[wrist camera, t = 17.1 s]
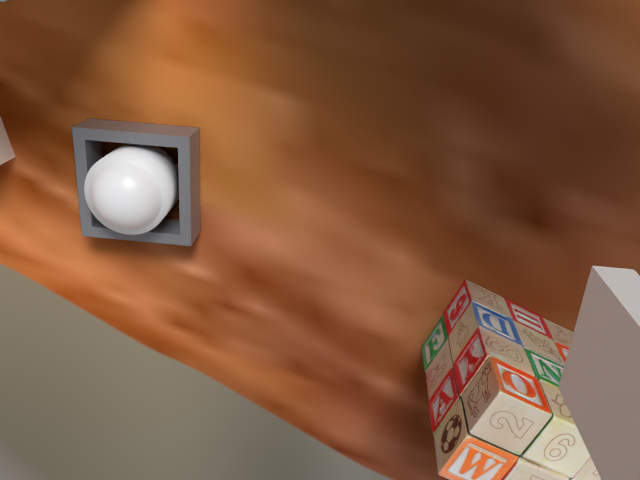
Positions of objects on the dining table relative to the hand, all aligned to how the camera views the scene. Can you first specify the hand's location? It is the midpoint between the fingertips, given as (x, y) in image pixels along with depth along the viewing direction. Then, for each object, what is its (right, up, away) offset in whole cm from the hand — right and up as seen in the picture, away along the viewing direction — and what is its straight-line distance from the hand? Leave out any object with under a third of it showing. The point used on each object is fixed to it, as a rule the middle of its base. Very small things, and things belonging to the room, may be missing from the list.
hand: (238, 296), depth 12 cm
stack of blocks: (+19, -8, +32) cm, 38 cm away
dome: (-10, +5, +27) cm, 29 cm away
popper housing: (-10, +5, +28) cm, 30 cm away
